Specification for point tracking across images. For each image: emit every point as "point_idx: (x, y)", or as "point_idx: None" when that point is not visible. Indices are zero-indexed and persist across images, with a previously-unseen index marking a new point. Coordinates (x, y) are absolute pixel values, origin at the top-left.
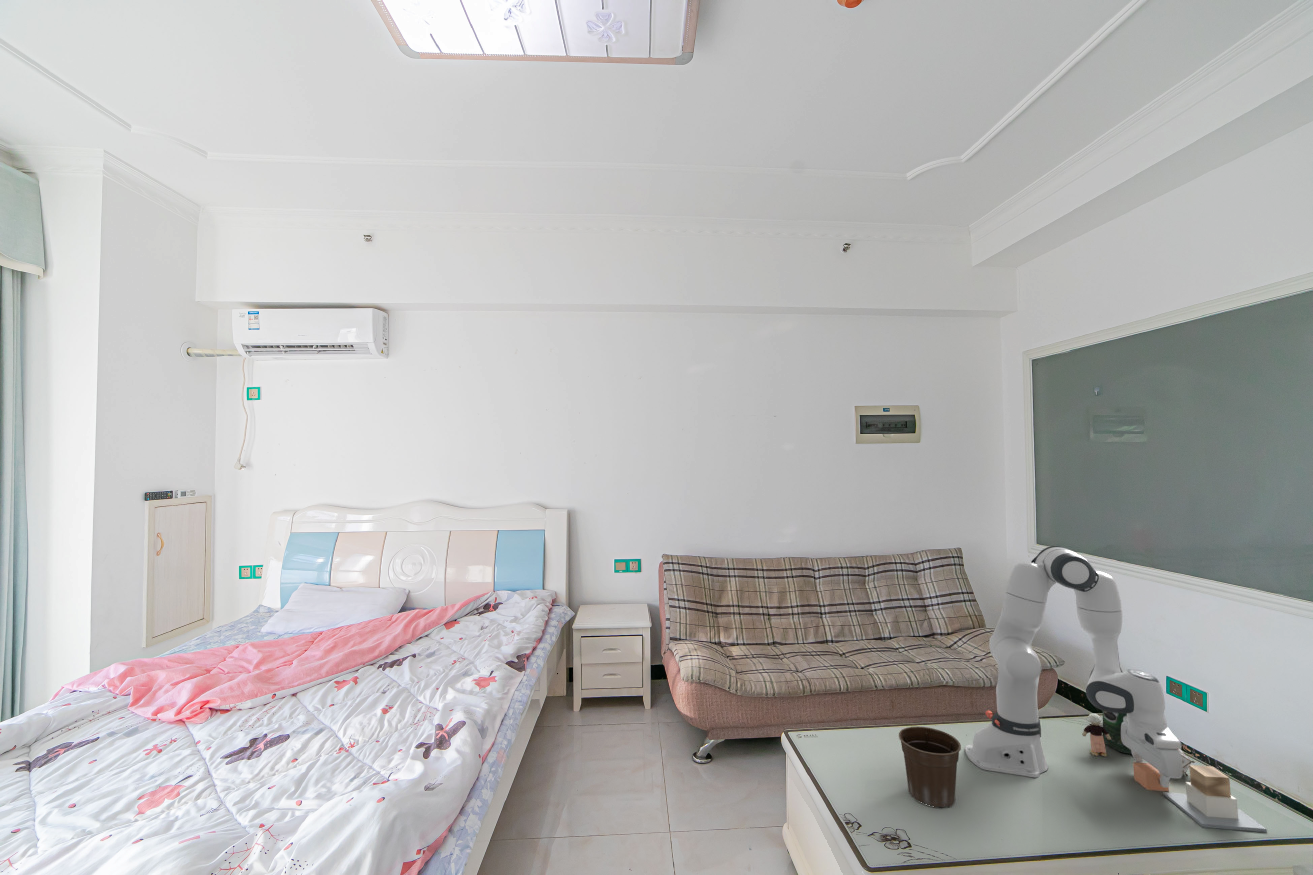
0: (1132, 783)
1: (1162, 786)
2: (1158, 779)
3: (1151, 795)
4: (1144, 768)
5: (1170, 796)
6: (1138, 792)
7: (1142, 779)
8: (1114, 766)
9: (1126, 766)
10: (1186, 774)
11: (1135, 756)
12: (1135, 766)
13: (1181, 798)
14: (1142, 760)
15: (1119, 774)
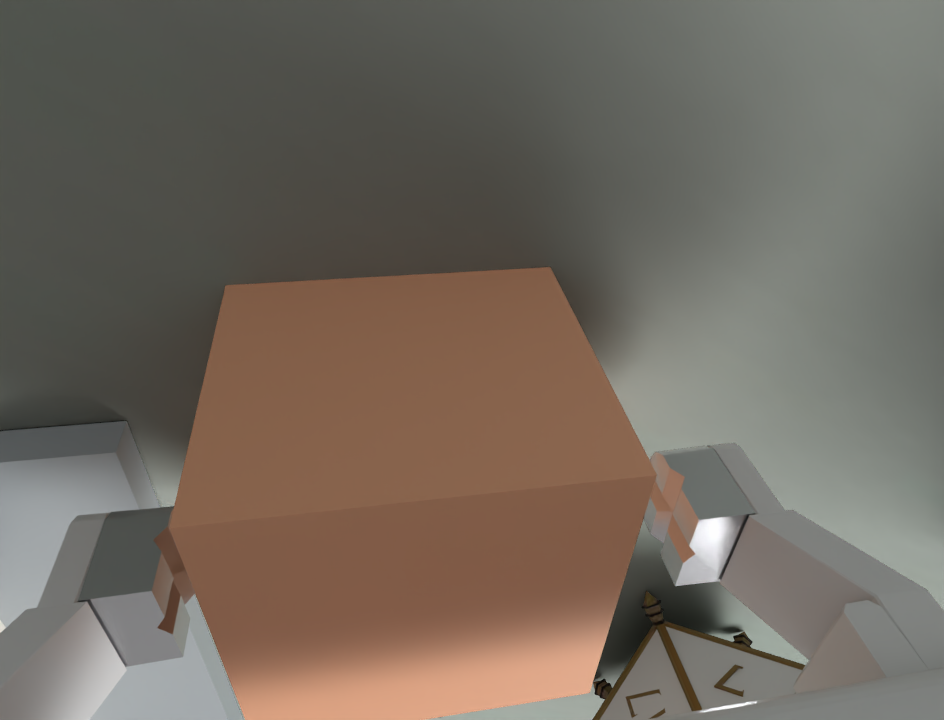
0: (394, 157)
1: (75, 517)
2: (129, 574)
3: (11, 254)
4: (379, 555)
5: (5, 478)
6: (27, 72)
7: (335, 346)
8: (919, 174)
9: (861, 334)
10: (599, 692)
11: (822, 579)
12: (557, 437)
13: (10, 560)
14: (735, 592)
15: (694, 104)
